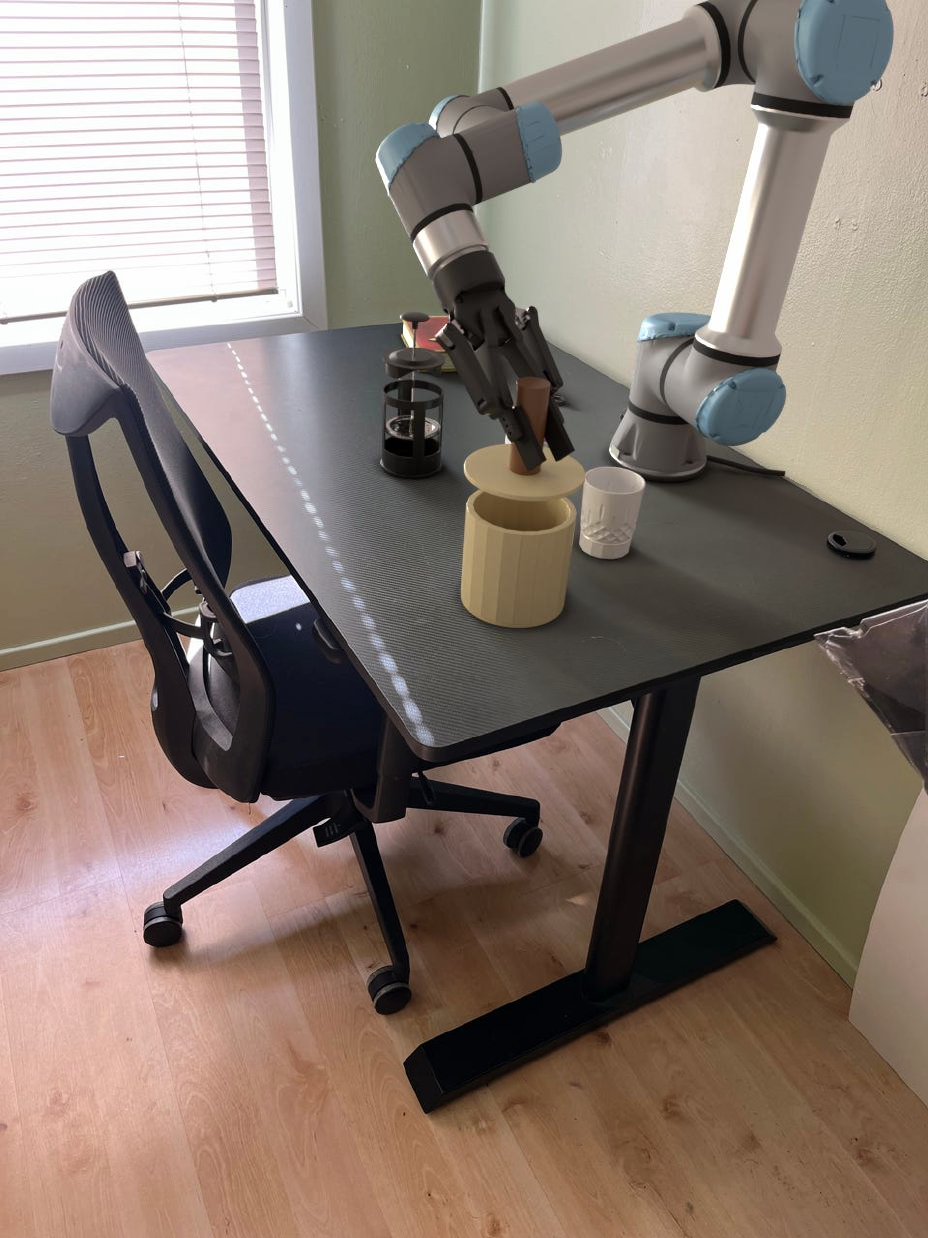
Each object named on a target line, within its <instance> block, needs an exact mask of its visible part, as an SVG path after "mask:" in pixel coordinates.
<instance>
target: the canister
mask: <svg viewBox="0 0 928 1238" xmlns="http://www.w3.org/2000/svg"><path fill="white" fill-rule="evenodd" d="M577 513H578V511H577V509H576V506H575V504H574V503H573V502H572V501H571V499H569V497H564V498H560V499H556V500H549V501H520V500H512V499H507V498H503V497H499V496H495V495H492V494H490V493H487V492H485V491H483V490H481V489H479V488H478V489H477V490H476V491H474V492H473V493H472V494H470V495H469V497H468V500H467V502H466V503H465V517H464V518H465V519H464V532H463V533H464V536H463V549H462V551H463V552H462V563H461V580H460V581H461V582H460V599H461V602H462V604H463V606H464V608H465V609H466V610H467V611H468V612H469V613H470V614H471V615H472V616H474V617H475V618H477V619H479V620H481V621H482V622H484V623H485V622H486V623H488V624H491V625H493V626H498V627H504V628H511V629H525V628H526V629H527V628H535V627H538V626H542V625H545V624H548V623H550V622H552V621H553V620H555V619H556V618H557V617H559V615H561V613H562V612H563V610H564V607H565V601H566V594H567V586H568V582H569V581H568V579H569V574H570V573H569V572H570V565H571V558H572V551H573V544H574V536H575V530H576V522H577V515H578V514H577Z"/></svg>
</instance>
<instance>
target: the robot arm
mask: <svg viewBox="0 0 928 1238" xmlns="http://www.w3.org/2000/svg"><path fill="white" fill-rule="evenodd" d="M894 29H895V28H894V20H893V15H892V11H891V10H890V8H889V6H888V4H887V0H705V1H701V2H699V3H697V4H693V5H692V6H689V7H688V8H687V9H685V10H684V12H683V14H682V17H681V18H680V20H677V21H675V22H672V23H670V24H669V23H668V24H667V25H664V26H661V27H659V28H655V29H653V30H650V31H647V32H644V33H641V34H639V35H637V36H634V37H630V38H628V39H625V40H622V41H620V42H616V43H614V44H611V45H609V46H606V47H603V48H601V49H598V50H595V51H593V52H589V53H587V54H584V55H581V56H579V57H575V58H573V59H571V60H568V61H565V62H562V63H560V64H557V65H554V66H551V67H549V68H546V69H543V70H540V71H538V72H534V73H532V74H529V75H527V76H524V77H521V78H518V79H516V80H513V81H511V82H507V83H505V84H502V85H500V86H497V87H495V88H491V89H488V90H485V91H483V92H480V93H477V94H474V95H467V94H456V95H455V94H454V95H450V96H446V97H445V98H444V99H442V100H441V101H440V102H438V103H437V105H436V106H435V107H434V109H433V111H432V112H431V115H430V117H429V121H428V122H427V121H419V122H417V123H415V122H409V123H406V124H402V125H401V126H399V127H397V128H395V129H394V130H393V131H391V132H390V133H389V134H388V135H387V136H385V138H384V139H383V140H382V141H381V143H380V145H379V146H378V148H377V151H376V155H375V156H376V157H375V163H376V166H377V169H378V171H379V174H380V177H381V179H382V181H383V184H384V187H385V190H386V192H387V197H388V199H390V200H391V202H392V205H393V207H394V209H395V211H396V213H397V215H398V217H399V219H400V221H401V223H402V225H403V227H404V229H405V232H406V234H407V235H408V237H409V238H408V239H409V240H410V242H411V244H412V247H413V249H414V251H415V253H416V256H417V258H418V260H419V262H420V264H421V266H422V269H423V271H424V273H425V275H426V277H427V279H428V280H429V281H432V282H431V288H432V290H433V292H434V294H435V297H436V300H437V301H438V303H439V305H440V309H442V312H443V313H444V314H446V315H447V316H449V322H450V323H447V324H446V325H445V326H444V327H443V328H442V329H441V330H440V332H439V333H438V334H437V335H436V336H435V339H436V341H437V343H438V344H439V345H440V346H441V347H442V348H443V349H444V350H445V351H446V353H447V354H448V355H449V357H450V359H451V361H452V363H453V365H454V367H455V369H456V371H455V372H457V374H458V377H459V379H460V380H461V382H462V384H463V386H464V388H465V390H466V392H467V394H468V396H469V397H470V400H471V401H472V404H473V405H474V407H475V409H476V411H477V413H478V414H479V415H481V416H485V415H486V414H488V417H489V419H490V420H492V421H496V420H499V423H500V425H501V427H502V430H503V431H504V433H505V437H506V436H507V438H508V439H509V441H510V442H511V443H512V442H514V443H515V445H516V448H517V450H518V452H519V454H520V456H521V458H522V460H523V463H524V465H525V467H526V469H527V471H531V470H533V469H535V468H536V467H537V466H539V465H540V464H542V463H543V462H545V461H546V460H547V459H546V457H545V455H544V453H543V450H542V448H541V446H540V444H539V442H538V440H537V438H536V435H535V433H534V431H533V429H532V427H531V425H530V423H529V420H528V418H527V416H526V414H525V412H524V410H523V408H522V405H518V406H516V407H514V399H513V396H512V393H511V390H510V387H509V386H510V385H509V383H508V380H507V377H506V373H505V370H504V367H503V364H502V361H501V360H502V359H501V357H500V356H504V358H505V359H506V361H507V362H508V364H509V365H510V367H511V368H512V371H513V372H514V374H515V375H516V377H517V379H519V378H522V377H539V378H543V379H545V380H547V381H549V382H550V393H549V402H548V411H547V420H546V428H545V437H544V438H545V440H546V442H547V444H548V446H549V448H550V451H551V453H552V455H553V457H554V459H555V461H556V462H557V461H560V460H562V459H563V458H565V457H566V456H570V455H571V454H572V453H574V452H575V451H576V449H575V447H574V445H573V443H572V440H571V439H570V437H569V434H568V432H567V430H566V427H565V426H564V424H565V418H564V416H563V414H562V412H561V410H560V408H559V405H557V403H556V401H555V398H554V394H555V393H556V394H558V392H559V390H560V389H561V388H563V386H564V381H563V378H562V376H561V373H560V370H559V368H558V366H557V364H556V362H555V360H554V357H553V354H552V352H551V350H550V347H549V345H548V342H547V340H546V338H545V336H544V333H543V331H542V328H541V325H540V320H539V319H540V318H539V312H538V309H537V307H535V306H534V305H529V307H527V308H526V309H524V308H522V307H521V308H520V307H517V306H516V304H515V302H514V301H513V300H512V299H511V298H510V297H509V296H508V295H507V293H506V278H505V276H504V273H503V271H502V269H501V267H500V264H499V263H498V260H497V258H496V257H495V254H494V253H493V252H492V251H490V248H491V247H490V243H489V240H488V238H487V237H486V234H485V233H484V230H483V229H482V227H481V225H480V221H478V218H477V215H476V214H475V211H474V209H473V207H474V206H478V205H479V204H481V203H483V202H486V201H489V200H491V199H494V198H497V197H499V196H501V195H504V194H507V193H509V192H511V191H514V190H517V189H519V188H522V187H524V186H527V185H529V184H535V183H536V182H537V181H538V180H540V179H542V178H544V177H547V176H548V175H550V174H552V173H554V172H555V171H556V170H558V168H559V167H560V165H561V163H562V157H563V144H562V139H561V137H562V136H566V135H568V134H571V133H573V132H576V131H579V130H582V129H584V128H588V127H590V126H593V125H596V124H599V123H601V122H604V121H606V120H609V119H611V118H614V117H617V116H620V115H622V114H625V113H627V112H630V111H633V110H636V109H638V108H642V107H644V106H647V105H650V104H653V103H655V102H657V101H660V100H664V99H666V98H669V97H672V96H674V95H677V94H679V93H680V94H681V93H682V92H685V91H687V90H691V89H693V88H694V89H695V90H697V91H698V92H700V93H708V92H710V91H713V90H716V89H718V88H722V87H727V86H733V85H734V86H735V85H747V86H748V85H749V86H754V87H753V92H752V97H751V101H750V105H749V107H750V109H751V111H752V113H753V114H754V117H755V118H756V120H757V126H758V127H757V131H756V135H755V139H754V143H753V146H752V151H751V154H750V159H749V163H748V166H747V171H746V175H745V178H744V182H743V187H742V191H741V194H740V199H739V203H738V208H737V211H736V214H735V215H736V216H735V219H734V223H733V226H732V227H733V228H732V232H731V236H730V239H729V243H728V247H727V251H726V255H725V260H724V263H723V267H722V271H721V275H720V279H719V282H718V283H719V284H718V288H717V293H716V295H715V300H714V304H713V308H712V312H711V315H707V314H702V313H693V312H678V311H677V312H659V313H654V314H651V315H649V316H646V318H644V319H643V321H642V323H641V325H640V329H639V333H638V336H637V339H636V343H637V344H636V352H635V358H634V364H633V372H632V377H631V382H630V388H629V389H630V390H629V397H628V404H627V409H626V411H625V414H624V415H623V417H622V418H621V419H622V420H621V421H620V423H619V425H618V427H617V429H616V431H615V433H614V435H613V437H612V438H611V441H610V444H609V450H608V460H609V461H610V463H611V464H612V465H613V467H618V468H623V469H627V470H630V471H633V472H635V473H637V474H639V475H640V476H641V477H642V478H643V479H644V480H647V481H653V482H654V481H655V482H663V483H664V482H665V483H675V482H684V481H691V480H693V479H696V478H698V477H700V476H701V475H702V474H703V473H704V471H705V469H706V466H707V465H706V464H707V462H711V463H715V464H719V465H724V466H727V467H730V468H734V469H737V470H740V471H744V472H748V473H752V474H758V475H765V476H776V477H786V470H779V469H769V468H762V467H761V468H760V467H755V466H750V465H746V464H743V463H740V462H736V461H733V460H729V459H725V458H721V457H717V456H713V455H709V454H708V453H707V443H706V438H707V439H709V440H712V442H714V443H716V444H718V445H721V446H725V447H738V446H743V445H746V444H748V443H751V442H753V441H755V440H757V439H758V438H760V436H761V435H762V434H763V433H764V434H765V433H767V432H768V431H769V430H770V429H771V428H772V427H773V426H774V424H775V423H776V422H777V420H778V419H779V417H780V416H781V414H782V413H783V410H784V407H785V405H786V400H787V388H786V385H785V384H784V381H783V379H782V376H781V375H779V374H778V373H777V370H778V366H779V361H780V358H781V355H782V352H783V346H782V345H781V342H780V340H779V339H778V337H777V336H776V330H777V327H778V323H779V319H780V316H781V313H782V310H783V305H784V302H785V299H786V295H787V291H788V287H789V285H790V281H791V277H792V274H793V270H794V267H795V265H796V264H795V263H796V260H797V257H798V253H799V250H800V246H801V242H802V239H803V235H804V233H805V232H804V231H805V229H806V225H807V222H808V218H809V216H810V212H811V207H812V204H813V201H814V197H815V193H816V190H817V187H818V183H819V179H820V176H821V172H822V170H823V167H824V162H825V159H826V155H827V151H828V148H829V144H830V141H831V138H832V136H833V134H834V133H835V132H836V131H838V130H839V129H840V128H842V127H843V126H845V125H846V124H847V123H848V122H849V121H850V120H851V115H852V113H853V110H854V106H855V103H856V102H857V101H858V100H860V99H862V98H864V97H865V96H866V95H868V94H869V93H870V92H871V88H872V87H873V86H876V85H877V84H878V83H879V82H880V80H881V79H882V77H883V75H884V74H885V71H886V70H887V67H888V64H889V62H890V59H891V56H892V52H893V46H894V36H895V30H894ZM467 340H468V341H467ZM513 407H514V408H513Z"/></svg>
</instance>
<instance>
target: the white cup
mask: <svg viewBox="0 0 928 1238" xmlns="http://www.w3.org/2000/svg"><path fill="white" fill-rule="evenodd" d="M645 489H646V479H643V478H642V477H641V476H640V475H639V474H637V473H635V472H633V471H630V470H627V469H623V468H618V467H616V466H599V467H598V466H597V467H594V468H590V469H589V470H587V471H586V472H585V482H584V484H583V486H582V497H581V506H580V507H581V508H580V524H579V525H580V531H579V532H580V533H579V542H578V544H579V547H580V548H581V550H582V552H584V553H585V554H587V555H589V556H591V557H594V558H597V559H603V560H616V559H621V558H623V557H625V556H626V555H627V554H629V552H630V548H631V544H632V539H633V536H634V534H635V530H636V527H637V523H638V518H639V516H640V515H639V514H640V511H641V506H642V501H643V499H644V498H643V497H644V493H645Z"/></svg>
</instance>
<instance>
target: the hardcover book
mask: <svg viewBox="0 0 928 1238" xmlns="http://www.w3.org/2000/svg"><path fill="white" fill-rule="evenodd" d="M429 316H430V319H429V320H428V321H425V322H418V329H416V347H417V348H425V349H430V350H434V351H437V352H439V353H441V354H442V355H443V356H444V357H445V363H444V365H442V373H445V372H446V373H447V372H457V371H456V369H455V367H454V365H453V363H452V361H451V359H450V357H449V355H448V354H447V353H446V351H445V350H444V349H443V348H442V347H441V346H440V345H439V344H438V343H437V341H436V339H435V336H436V335H437V334H438V333H439V332H440V330H441V329H442V328H443V327H444V326H445V325H446V324H447V323H450V322H449V315H429ZM402 322H403V330H402V331H403V333H400V336H401V338H402V341H403V342H404V345H405V347H413V330H414V329H412V322H408V321H404V320H402ZM467 341H468V340H467ZM417 372H418V373H429V372H428V371H426V370H422V371H417Z"/></svg>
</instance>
